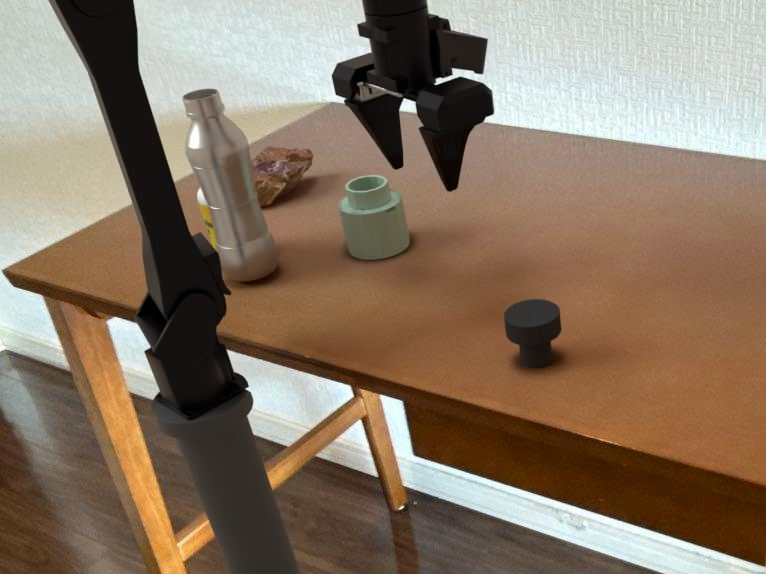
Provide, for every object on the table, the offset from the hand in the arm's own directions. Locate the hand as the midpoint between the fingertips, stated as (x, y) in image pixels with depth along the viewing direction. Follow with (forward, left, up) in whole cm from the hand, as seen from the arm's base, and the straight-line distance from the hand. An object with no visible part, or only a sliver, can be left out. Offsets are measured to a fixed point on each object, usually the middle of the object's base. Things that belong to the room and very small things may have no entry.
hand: (424, 179), depth 101 cm
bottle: (+4, +15, -12) cm, 20 cm away
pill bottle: (-7, +27, -12) cm, 31 cm away
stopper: (-4, -18, -12) cm, 22 cm away
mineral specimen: (+7, +40, -12) cm, 43 cm away
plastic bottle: (-9, +22, -12) cm, 27 cm away
